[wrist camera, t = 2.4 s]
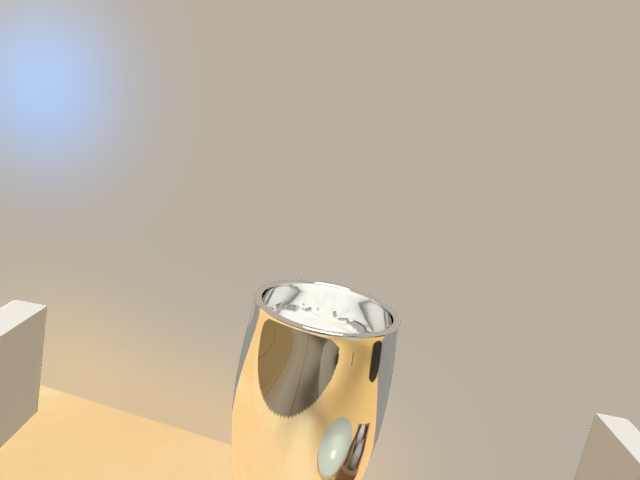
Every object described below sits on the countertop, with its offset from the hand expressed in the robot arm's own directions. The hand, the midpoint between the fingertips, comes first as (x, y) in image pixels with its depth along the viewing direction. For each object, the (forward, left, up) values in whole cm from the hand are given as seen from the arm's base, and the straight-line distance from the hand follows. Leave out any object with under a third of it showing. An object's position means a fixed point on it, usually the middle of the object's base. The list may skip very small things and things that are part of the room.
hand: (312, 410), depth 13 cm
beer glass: (0, -12, -17) cm, 20 cm away
